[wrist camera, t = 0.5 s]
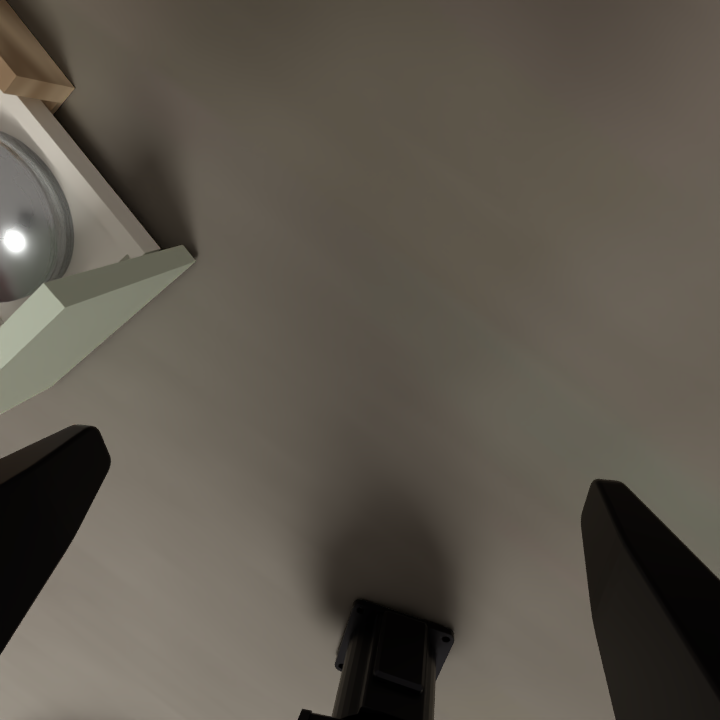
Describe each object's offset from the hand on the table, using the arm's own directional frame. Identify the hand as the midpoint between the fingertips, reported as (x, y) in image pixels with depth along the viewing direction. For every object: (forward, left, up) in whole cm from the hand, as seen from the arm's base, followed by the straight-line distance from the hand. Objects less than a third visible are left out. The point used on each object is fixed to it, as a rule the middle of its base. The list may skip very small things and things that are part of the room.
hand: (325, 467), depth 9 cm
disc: (-2, +20, -14) cm, 25 cm away
